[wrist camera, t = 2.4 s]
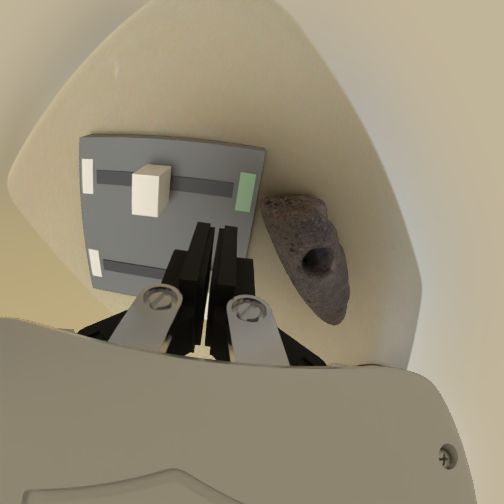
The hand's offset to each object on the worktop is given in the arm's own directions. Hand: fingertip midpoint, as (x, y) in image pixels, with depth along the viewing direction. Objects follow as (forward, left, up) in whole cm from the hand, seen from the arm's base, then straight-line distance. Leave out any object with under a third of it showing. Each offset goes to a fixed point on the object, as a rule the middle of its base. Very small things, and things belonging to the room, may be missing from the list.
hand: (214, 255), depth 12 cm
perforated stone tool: (-8, +6, -13) cm, 17 cm away
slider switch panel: (+6, +5, -13) cm, 15 cm away
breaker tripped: (+6, 0, -11) cm, 12 cm away
